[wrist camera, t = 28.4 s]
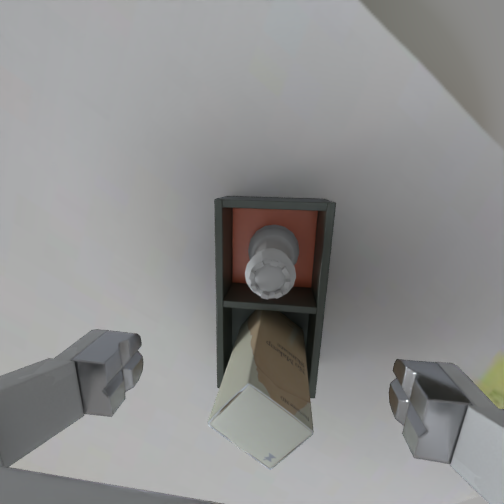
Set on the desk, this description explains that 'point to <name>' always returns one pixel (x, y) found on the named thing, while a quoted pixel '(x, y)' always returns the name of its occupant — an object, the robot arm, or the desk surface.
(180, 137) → the desk surface
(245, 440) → the box
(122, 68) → the desk surface
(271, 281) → the rook chess piece
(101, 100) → the desk surface
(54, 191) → the desk surface
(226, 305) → the divided tray
